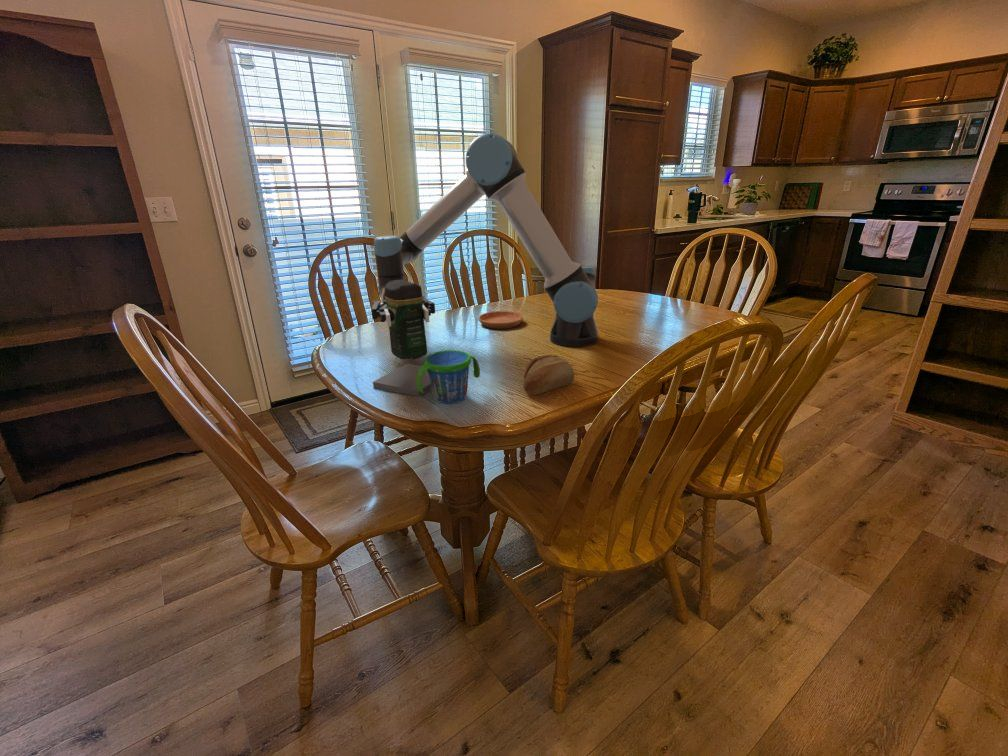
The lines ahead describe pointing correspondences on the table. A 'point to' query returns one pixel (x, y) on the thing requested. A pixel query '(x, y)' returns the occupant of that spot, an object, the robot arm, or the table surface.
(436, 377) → the snack cup
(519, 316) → the saucer
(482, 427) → the table surface
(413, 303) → the coffee jar
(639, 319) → the table surface
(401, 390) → the stand
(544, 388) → the bread roll
